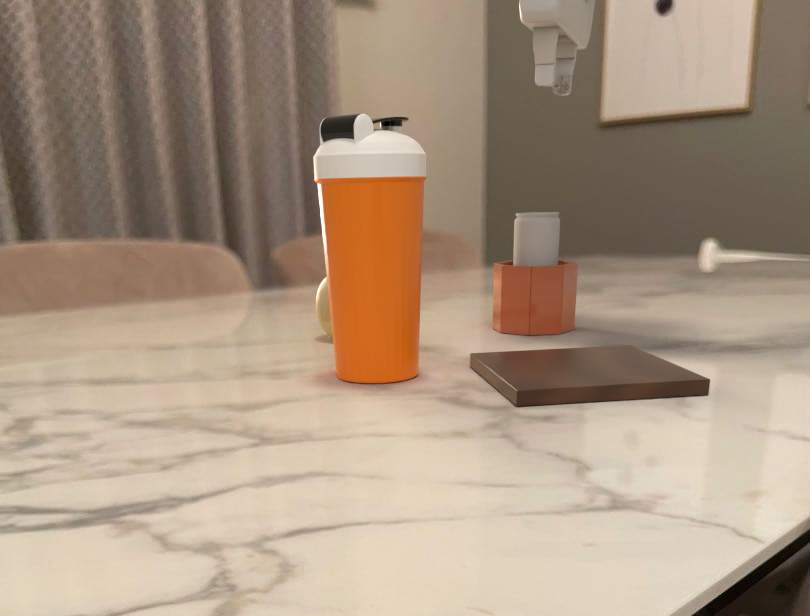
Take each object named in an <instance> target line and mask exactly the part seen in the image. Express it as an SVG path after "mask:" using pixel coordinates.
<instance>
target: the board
mask: <svg viewBox="0 0 810 616" xmlns="http://www.w3.org/2000/svg"><path fill="white" fill-rule="evenodd" d="M469 367H470V368H471V369H472V370H474V371H475V372H476V373H477V374H478V375H479V376H481V377H482V378H483V379H484V380H486V381H487V382H488V383H489V384H490V385H491V386H492V387H493V388H495V390H497V391H498V392H499V393H500V394H502V395H503V396H504V397H505V398H506V399H508V400H509V401H510V402H511V403H512V404H513V405H514V406H515V407H527V406H530V407H531V406H547V405H562V404H577V403H594V402H595V403H596V402H612V401H613V402H614V401H628V400H629V401H630V400H644V399H661V398H662V399H663V398H676V397H695V396H708V395H710V386H711V379H710V378H709V377H706V376H703V375H702V374H699V373H697V372H694V371H691V370H690V369H687V368H685V367H682V366H680V365H678V364H675V363H673V362H671V361H668V360H666V359H664V358H662V357H659V356H657V355H654V354H652V353H650V352H647V351H645V350H643V349H640V348H638V347H636V346H634V345H631V344H625V345H623V344H622V345H604V346H603V345H602V346H586V347H583V346H582V347H567V348H563V347H562V348H547V349H527V350H508V351H507V350H506V351H491V352H490V351H486V352H471V353H470V354H469Z"/></svg>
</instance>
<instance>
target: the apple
mask: <svg viewBox="0 0 810 616" xmlns="http://www.w3.org/2000/svg"><path fill="white" fill-rule="evenodd" d="M315 311H316V316H317V319H318V322H319V324H320V326H321V328H322V329H323V331H324V332H325V333H326V334H327V335H329V336H330V337H332V338H333V333H332V323H331V313H330V303H329V293H328V282H327V276H325V278H323V279H322V281H321V282H320V284H319V287H318V289H317V292H316V297H315Z"/></svg>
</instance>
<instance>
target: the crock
mask: <svg viewBox="0 0 810 616" xmlns="http://www.w3.org/2000/svg"><path fill="white" fill-rule="evenodd" d="M578 269H579V262H577V261H573V260H568V259H558V265H549V266H516V265H513V259H508V260H501V261H495V262H493V284H492V285H493V286H492V287H493V292H492V329H493V330H495V331H497V332H498V333H500V334H507V335H508V334H509V335H519V336H546V335H547V336H548V335H561V334H564V333H567V332H568V333H569V332H570V331H573V330H575V324H576V308H577V307H576V305H577V291H578V290H577V289H578V274H579V273H578V271H579V270H578Z"/></svg>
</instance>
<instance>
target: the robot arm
mask: <svg viewBox="0 0 810 616" xmlns="http://www.w3.org/2000/svg"><path fill="white" fill-rule="evenodd" d="M595 5H596V0H518V10H519V19H520V22H521V24H522V25H524V26H525V27H526V28H528V29H529V30H530V31H532V49H533V56H534V64H535V67H534V69H535V70H534V83H535V85H536V86H538V87H540V88H551V92H552V93H553V95H555V96H557V97H559V96H560V97H561V96H563V97H564V96H569V95H570V94H571V92H572V85H573V74H574V70H575V67H576V62H577V53H578V51H582V50H586V49H587V47H588V45H589V41H590V38H591V33H592V27H593V21H594V15H595V14H594V13H595V7H596V6H595Z"/></svg>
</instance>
